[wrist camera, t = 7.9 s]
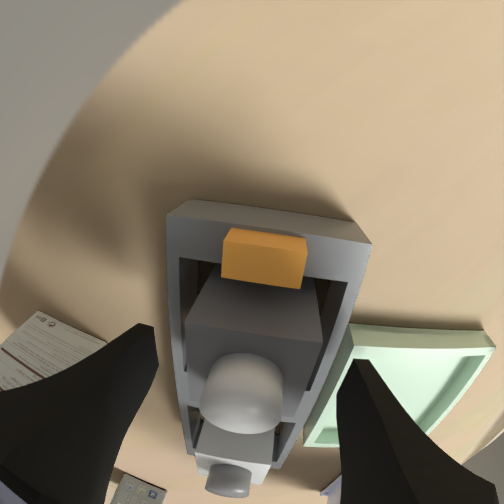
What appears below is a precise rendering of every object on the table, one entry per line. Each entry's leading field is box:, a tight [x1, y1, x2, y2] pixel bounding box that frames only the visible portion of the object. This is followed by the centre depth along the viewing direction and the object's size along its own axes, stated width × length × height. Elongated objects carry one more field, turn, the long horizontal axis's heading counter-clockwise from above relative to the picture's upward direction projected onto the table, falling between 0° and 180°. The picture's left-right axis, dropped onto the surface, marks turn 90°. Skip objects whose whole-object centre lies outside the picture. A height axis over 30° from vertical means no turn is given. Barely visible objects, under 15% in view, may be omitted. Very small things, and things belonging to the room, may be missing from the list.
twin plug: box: [195, 419, 275, 498], centre depth 14 cm, size 4×4×6 cm
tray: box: [303, 323, 496, 447], centre depth 14 cm, size 10×10×2 cm
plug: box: [185, 263, 323, 434], centre depth 10 cm, size 4×4×6 cm
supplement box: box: [0, 311, 107, 391], centre depth 12 cm, size 7×7×13 cm
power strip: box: [166, 199, 372, 469], centre depth 13 cm, size 18×7×4 cm, turn 174°
